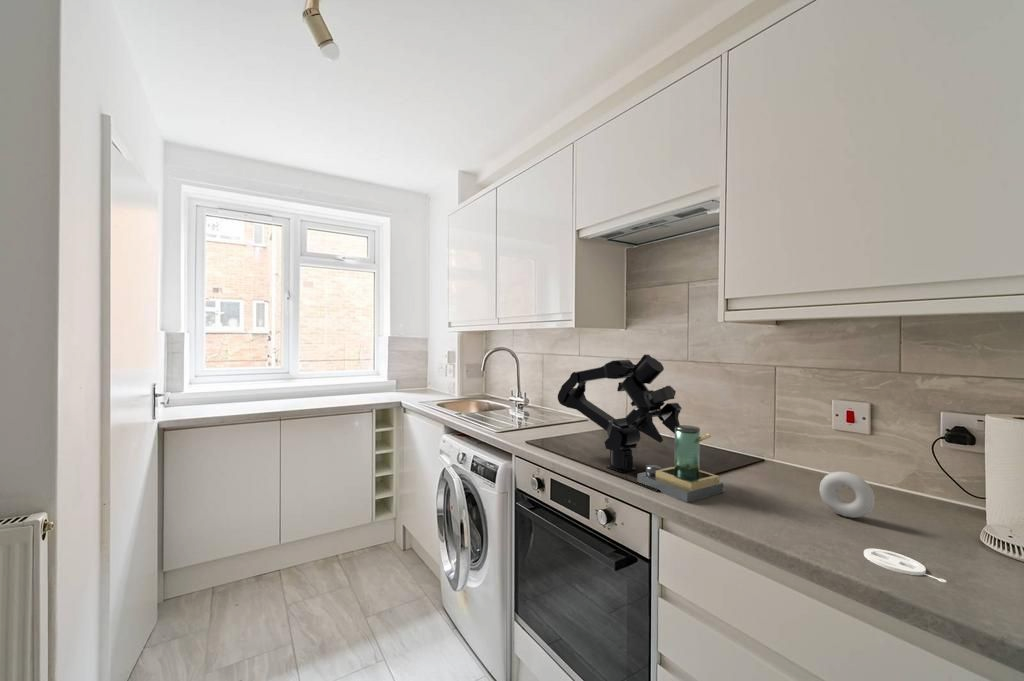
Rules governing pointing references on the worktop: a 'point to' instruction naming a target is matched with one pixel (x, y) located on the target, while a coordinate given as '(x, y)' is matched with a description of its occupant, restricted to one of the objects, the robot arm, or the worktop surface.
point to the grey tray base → (680, 483)
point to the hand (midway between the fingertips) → (672, 439)
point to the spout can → (687, 451)
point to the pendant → (896, 562)
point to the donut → (856, 484)
